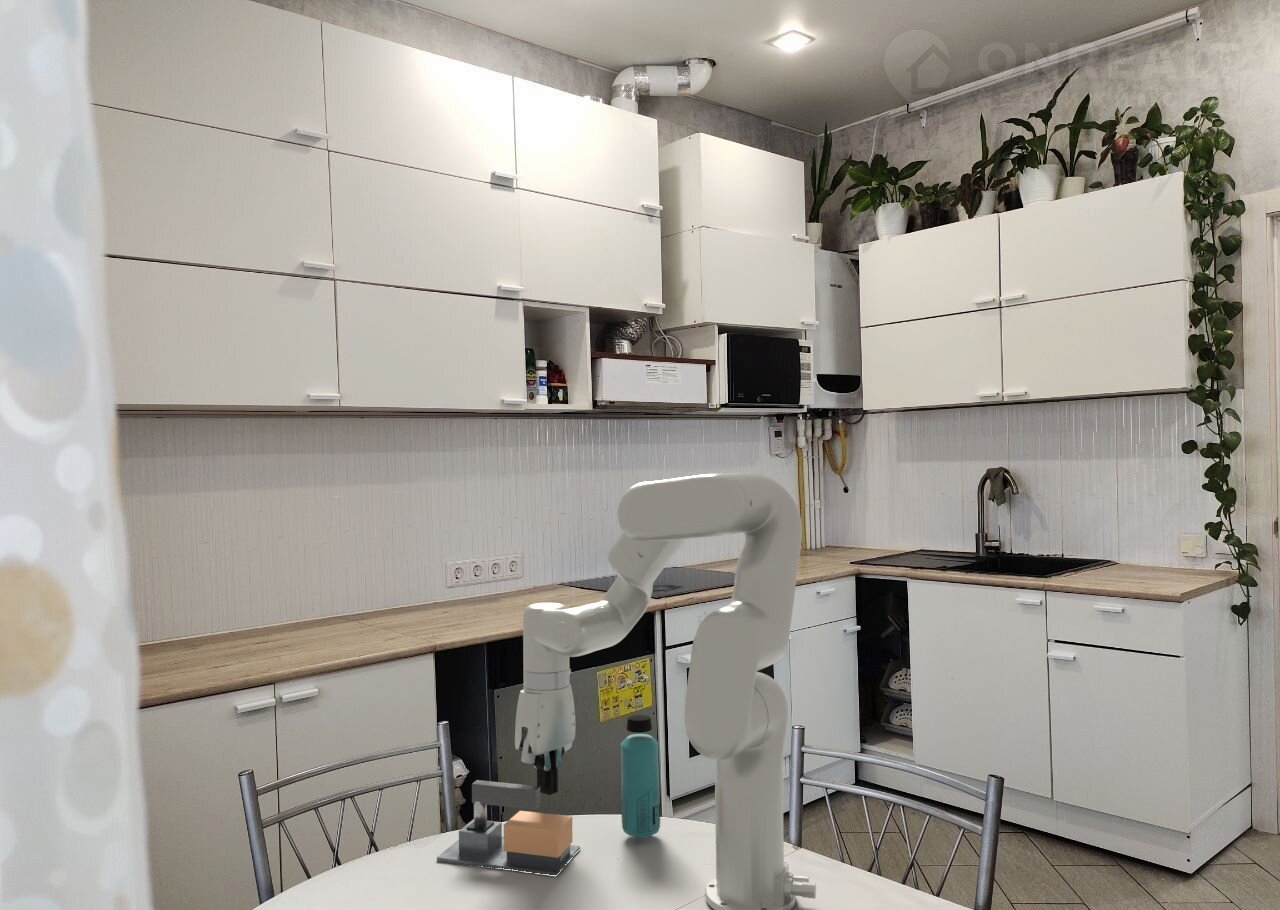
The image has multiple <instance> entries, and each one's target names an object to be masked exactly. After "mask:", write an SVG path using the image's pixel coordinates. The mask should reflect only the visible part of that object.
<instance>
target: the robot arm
mask: <svg viewBox="0 0 1280 910" xmlns="http://www.w3.org/2000/svg"><path fill="white" fill-rule="evenodd" d="M624 492H625V493H624V494H623V495H622V497H621V498H620V500H619V503H618V505H617V521H618V525H619V527H620V529H621V530H622V531H621V532H620V534H619V535H618V536H617V538H616V539H615V540H614V542H613V543H612V544H611V545H610V547H609V549H608V550H607V551H608V552H607V561H608V563H609V565H610V567H611V568H612V570H613V572H615V574H616V578H615V580H614V581H613V583H612V584H611V586H610V587H609V589H608V590H607V591H606V593H605V594H604V595H603V596H602V598H601V599H600V600H599V601H597V602H593V603H588V604H582V605H578V606H575V607H570V608H568V607H567V606H566V605H565V604H563V603H559V602H548V601H547V602H536V603H531V604H529V605H527V606H526V607H525V608H524V610H523V614H522V618H523V619H522V631H523V632H522V640H523V641H522V642H523V643H522V644H523V647H522V650H523V659H522V661H523V663H522V664H523V669H522V670H523V675H522V676H523V689H521V690H520V692H519V694H518V701H517V705H516V707H517V708H516V712H515V713H516V715H515V725H514V726H515V728H514V729H515V730H514V732H515V733H514V747H515V750H516V751H519V752H521V758H520V761H521V762H522V763H524V764H528V765H529V764H530V765H533V768H534V769H536V786H540V794H541V793H542V794H545V795H546V796H547V795H548V796H552V795H554V794H556V793H558V792H559V769H558V768H560V766H561V765H562V758H563V756H564V754H565V753H566V752H567V751H568V750H570V749H571V748H572V747H573V742H574V740H575V738H576V714H575V713H576V710H575V703H574V694H573V689H572V685H571V683H570V681H571V680H570V678H571V677H570V675H571V673H572V669H571V668H570V658H571V657H572V658H575V657H581V656H585V655H588V654H591V653H594V652H596V651H600V650H603V649H607V648H608V649H609V648H610V647H614V646H615V645H617V644H619V643H620V642H622V640H624V638H626V637H627V635H628V634H629V633H630V632H631V631H632V629H633V628H634V626H635V625H636V624H637V623H638V622H639V621H640V619H641V618H642V617H643V616H644V614H645V612H646V611H647V609H648V607H649V604H650V601H651V598H652V595H653V589H654V582H655V581H656V580H657V578H658V577H659V575H660V574H662V571H663V570H664V568H665V567H666V565H668V563H669V562H670V561H671V559H672V558H673V557H674V556H675V554H676V553H677V551H678V550H680V549H681V546H683V544H684V543H685V541H686V540H687V539H698V538H699V539H700V538H715V537H722V536H729V535H734V534H741V533H742V534H744V537H745V538H744V545H743V546H742V549H741V551H740V554H739V557H738V560H737V562H736V566H735V567H736V568H735V570H734V571H735V573H734V584H733V590H732V594H731V598H730V602H729V604H728V605H725V606H721V607H719V608H717V609H714V610H713V611H711V612H709V613H708V614H707V615H706V616H705V617H704V618H703V619H702V621H701V622H700V624H699V626H698V627H697V630H696V631H695V635H694V638H693V642H692V646H691V647H692V648H691V652H690V659H689V660H690V661H689V670H688V677H687V683H686V691H685V699H684V700H685V702H684V711H683V721H684V729H685V733H686V736H687V738H688V740H689V742H690V744H691V745H692V747H693V748H694V749H695V750H696V752H697V753H699V754H700V755H702V756H703V757H705V758H707V759H711V760H715V769H714V770H715V774H714V775H715V777H714V778H715V781H714V782H715V783H714V784H715V786H714V789H715V790H714V793H715V795H714V799H715V801H714V803H715V804H714V806H715V807H714V808H715V815H714V817H715V822H714V823H715V877H714V878H713V879H711V880H710V881H709V882H708V883H707V884H706V886H705V888H704V889H705V895H704V896H705V901H706V902H707V904H708V905H709V906H710V907H711V908H712V909H713V910H792V909H793V908H794V906H795V905H796V896H797V897H802V898H806V899H813V900H815V899H816V896H817V884H816V883H814V882H810V876H805V875H793V873H792V872H789V862H787V861H786V862H785V855H784V854H785V853H784V851H785V850H784V846H785V845H784V844H785V843H784V758H785V757H784V756H785V754H784V753H785V743H786V737H787V730H788V729H787V728H788V718H789V712H788V711H789V709H788V708H789V707H788V702H787V698H786V695H785V693H784V690H783V689H782V687H781V686H780V684H779V683H778V681H776V679H774V678H772V677H771V676H770V675H768V674H765V673H763V672H759V671H760V670H763V669H765V668H767V667H768V668H769V667H770V666H772V665H774V664H775V663H777V662H779V661H780V660H781V658H782V657H783V656H784V655H785V654H786V651H787V649H788V646H789V641H790V634H791V625H792V620H793V619H792V617H793V610H794V603H795V594H796V584H797V577H798V568H799V562H800V561H799V560H800V556H801V548H802V543H803V542H802V540H803V524H802V518H801V513H800V510H799V508H798V505H797V504H796V502H795V500H794V498H793V497H792V495H791V494H790V492H788V490H787V489H786V488H785V487H784V486H782V485H781V483H779V482H777V481H776V480H773V479H772V478H770V477H768V476H766V475H763V474H761V473H760V474H759V473H756V472H755V473H754V472H729V473H727V472H726V473H725V472H724V473H719V472H718V473H707V474H706V473H705V474H698V475H692V476H684V477H676V478H670V479H662V480H652V481H642V482H638V483H636V484H633V485H632V486H631V487H629V488H628V489H627V490H626V491H624Z"/></svg>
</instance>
